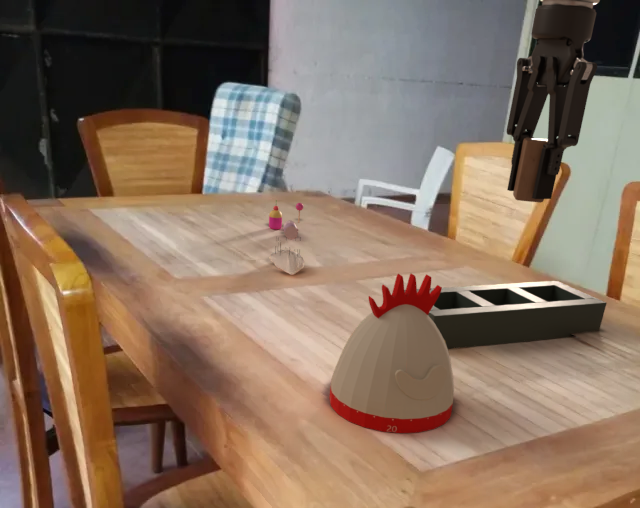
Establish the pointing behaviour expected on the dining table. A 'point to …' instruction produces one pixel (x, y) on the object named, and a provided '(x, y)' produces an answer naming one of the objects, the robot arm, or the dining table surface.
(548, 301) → the socket bar
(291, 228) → the toys
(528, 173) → the wooden block
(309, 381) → the dining table surface
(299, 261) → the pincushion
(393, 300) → the kitchen timer
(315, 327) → the dining table surface
